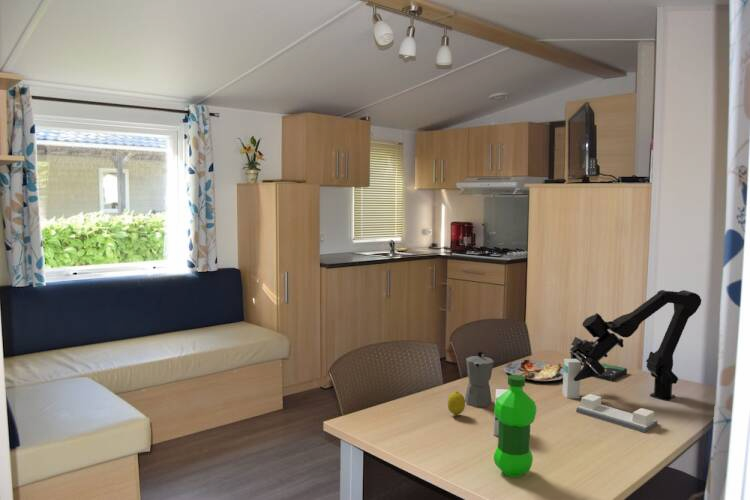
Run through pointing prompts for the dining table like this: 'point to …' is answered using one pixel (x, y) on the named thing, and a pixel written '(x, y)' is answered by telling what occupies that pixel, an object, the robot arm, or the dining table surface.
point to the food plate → (536, 370)
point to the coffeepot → (479, 380)
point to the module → (571, 378)
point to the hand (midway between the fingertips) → (569, 376)
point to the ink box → (496, 421)
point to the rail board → (617, 414)
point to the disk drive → (612, 372)
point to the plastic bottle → (514, 428)
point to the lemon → (456, 403)
